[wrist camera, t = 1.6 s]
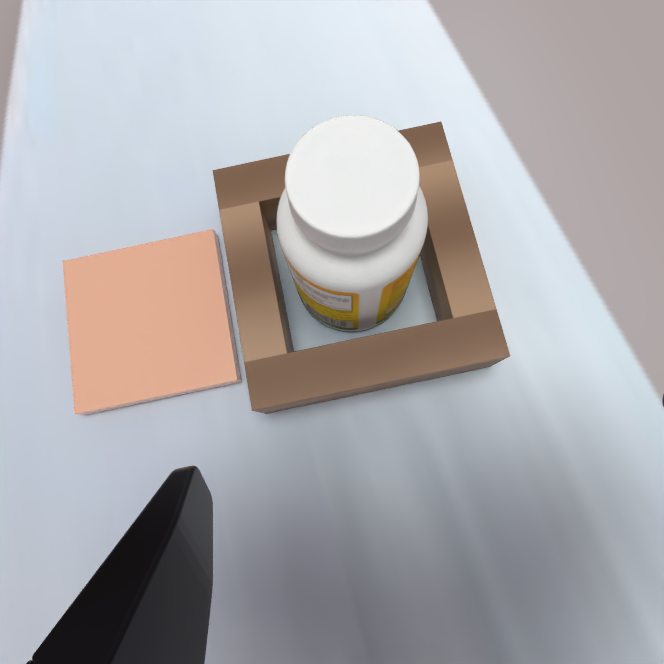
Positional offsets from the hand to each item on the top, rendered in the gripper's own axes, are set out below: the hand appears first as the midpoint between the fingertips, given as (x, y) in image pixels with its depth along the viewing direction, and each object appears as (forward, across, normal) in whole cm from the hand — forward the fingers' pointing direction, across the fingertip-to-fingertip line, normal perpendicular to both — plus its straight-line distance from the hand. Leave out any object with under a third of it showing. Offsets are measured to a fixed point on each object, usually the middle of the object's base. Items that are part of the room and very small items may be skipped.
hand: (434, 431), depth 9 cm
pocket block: (+14, 0, +4) cm, 15 cm away
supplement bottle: (+15, 0, +4) cm, 15 cm away
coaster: (+14, +10, +4) cm, 18 cm away
